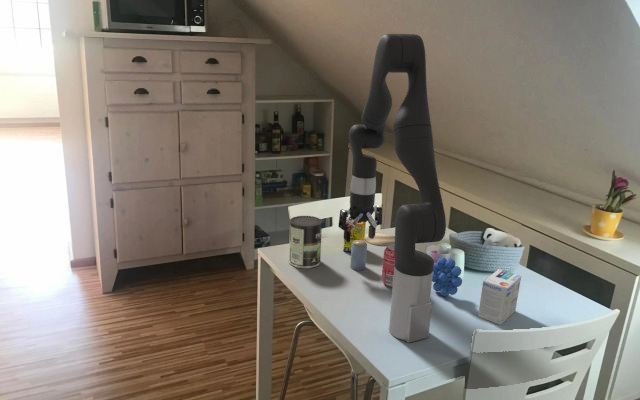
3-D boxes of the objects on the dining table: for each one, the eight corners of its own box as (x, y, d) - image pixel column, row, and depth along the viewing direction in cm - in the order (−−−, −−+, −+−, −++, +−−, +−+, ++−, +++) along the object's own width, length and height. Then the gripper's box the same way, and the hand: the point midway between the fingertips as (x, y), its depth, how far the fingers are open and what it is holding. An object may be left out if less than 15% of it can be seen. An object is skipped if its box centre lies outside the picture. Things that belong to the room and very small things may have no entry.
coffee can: (322, 257, 175) (324, 216, 171) (317, 270, 166) (319, 227, 162) (292, 254, 177) (293, 214, 173) (285, 266, 167) (286, 224, 163)
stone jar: (368, 269, 168) (370, 243, 165) (355, 271, 166) (356, 245, 163) (360, 263, 172) (362, 238, 170) (347, 265, 170) (349, 240, 167)
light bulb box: (492, 302, 150) (498, 267, 147) (516, 311, 146) (522, 275, 143) (476, 316, 142) (482, 280, 139) (501, 326, 138) (507, 288, 135)
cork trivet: (403, 243, 191) (403, 241, 190) (375, 247, 185) (375, 246, 185) (385, 231, 201) (385, 230, 201) (357, 235, 195) (357, 234, 195)
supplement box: (343, 251, 181) (344, 221, 177) (347, 245, 186) (349, 216, 183) (360, 254, 179) (362, 223, 176) (364, 248, 185) (366, 218, 181)
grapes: (469, 301, 150) (474, 262, 147) (452, 306, 147) (457, 266, 143) (440, 284, 159) (444, 247, 156) (423, 289, 156) (427, 251, 152)
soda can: (404, 279, 162) (408, 242, 158) (405, 289, 155) (409, 251, 152) (381, 277, 162) (384, 240, 159) (381, 287, 156) (384, 249, 152)
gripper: (348, 195, 155) (345, 247, 160) (389, 191, 161) (385, 240, 166) (336, 188, 161) (333, 238, 166) (376, 184, 168) (372, 232, 173)
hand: (359, 239), depth 166 cm, fingers open, 8 cm apart
